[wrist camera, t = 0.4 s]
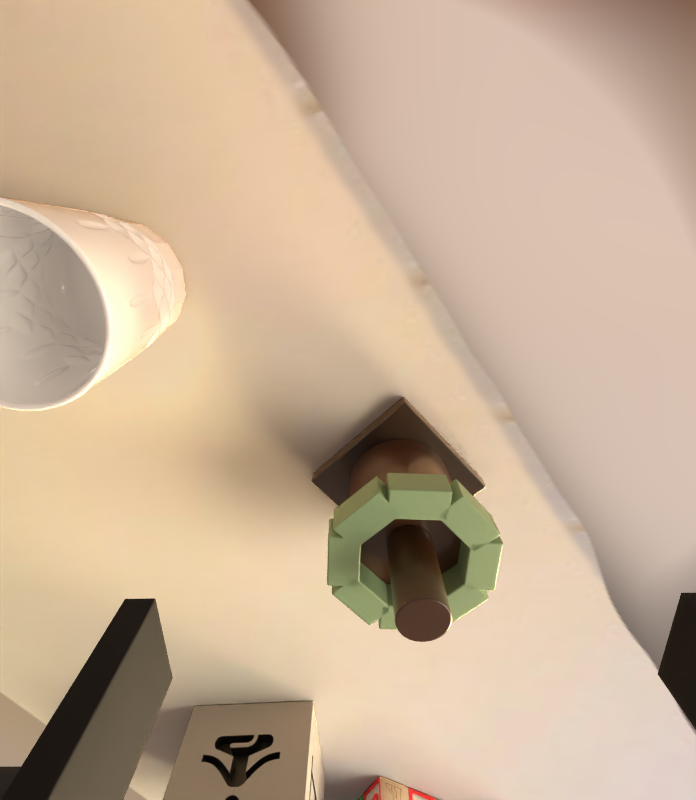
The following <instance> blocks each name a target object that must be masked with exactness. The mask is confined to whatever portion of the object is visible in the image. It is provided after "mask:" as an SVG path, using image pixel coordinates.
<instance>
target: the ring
mask: <svg viewBox="0 0 696 800" xmlns="http://www.w3.org/2000/svg"><path fill="white" fill-rule="evenodd" d="M394 519H415V520H441V521H442V522H443V523H444V524H445V525H446V526H447V527H448V528H449V529H450V530H451V531H452V532H453V533H454V534H455V535H456V536H457V537H459V538H460V539H461V543H460V550H459V557H458V563H457V564H456V565H454V566H453V567H451V568H450V569H449V570H447V571H446V572H444V573H443V574H441V575H442V579H443V583H444V587H445V590H446V594H447V598H448V602H449V606H450V610H451V614H452V622H451V623H453V622H454V621H456V620H457V619H459V618H460V617H462V616H463V615H465V614H466V613H468V612H469V611H471V610H472V609H474V608H475V607H477V606H478V605H480V604H482V603H483V602H485V601H486V600H488V595H487V593H486V590H488V591H494V590H495V585H496V580H497V574H498V569H499V563H500V558H501V552H502V547H503V542H502V540H501V538H500V536H499V535H500V532H499V530H498V528H497V526H496V524H495V522H494V520H493V518H492V516H491V514H490V513H489V512H488V511H487V510H486V509H485V508H484V507H483V506H482V505H481V504H480V503H479V502H478V501H477V500H476V499H475V498H474V497H473V496H472V495H471V494H470V493H469V492H468V491H467V490H466V489H465V488H464V487H463V485H462V484H461V483H460V482H459V481H458V480H456V479H455V480H454V481H452V482H451V483H450V484H449V482H448V479H447V477H446V475H438V474H409V473H387V481H386V485H385V484H384V483H383V482H382V481H381V480H380V479H379V478H378V477H377V476H376V477H375V478H373V479H372V480H371V481H370V482H369V483H367V484H366V485H365V486H364V487H362V488H361V489H360V490H359V491H357V492H356V493H355V494H354V495H352V496H351V497H350V498H349V499H347V500H346V501H345V502H344V503H342V504H341V505H340V506H339V507H337V508H336V509H335V510H334V519H330V521H329V534H328V569H327V584H328V585H332V594H333V595H334V596H335V597H336V598H338V599H339V600H340V601H341V602H342V603H344V604H345V605H346V606H347V607H348V608H350V609H351V610H352V611H353V612H354V613H356V614H357V615H358V616H359V617H360V618H362V619H363V620H364V621H365V622H366V623H367V624H369V625H371V624H372V623H374V622H375V621H377V620H378V619H379V628H380V629H397V627H396V625H395V618H394V609H393V600H392V591H391V584H385V583H384V582H383V581H382V580H381V579H380V578H379V577H377V576H376V575H375V574H374V573H373V572H372V571H371V570H369V569H368V568H367V567H366V566H365V565H364V564H363V563H362V562H360V558H361V545H362V544H363V543H364V542H365V541H367V540H368V539H369V538H371V537H372V536H373V535H375V534H376V533H377V532H379V531H380V530H381V529H383V528H384V527H385V526H386V525H388V524H389V523H390V522H392V521H393V520H394Z"/></svg>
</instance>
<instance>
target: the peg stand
mask: <svg viewBox="0 0 696 800" xmlns="http://www.w3.org/2000/svg"><path fill="white" fill-rule="evenodd" d="M387 473H409V474H438V475H446V477H447V479H448V482H449V484H450V483H451V482H452V481H454V480H455V479H456V480H458V481H459V482H460V483H461V484H462V485H463V487H464V488H465V489H466V490H467V491H468V492H469V493H470V494H471V495H472V496H474V495H476V494H477V493H478V492H480V491H481V490H482V489H484V488H485V487H486V486H485V484H484V482H483V480H482V478H481V477H480V476H479V475H478V474H477V473H476V472H475V471H474V470H473V469H472V468H471V467H470V466H469V465H468V464H467V463H466V462H465V461H464V459H463V458H462V457H461V456H460V455H459V454H458V453H457V452H456V451H455V450H454V449H453V448H452V447H451V446H450V445H449V444H448V443H447V442H446V441H445V439H444V438H443V437H442V436H441V435H440V434H439V433H438V432H437V431H436V430H435V429H434V428H433V427H432V426H431V425H430V424H429V423H428V422H427V420H426V419H425V418H424V417H423V416H422V415H421V414H420V413H419V412H418V411H417V410H416V409H415V408H414V407H413V406H412V405H411V404H410V403H409V402H408V400H407V399H406V398H405V397H403V398H402V399H401V400H399V401H398V402H397V403H396V404H395V405H394V406H392V407H391V408H390V409H389V410H388V411H386V412H385V413H384V414H383V415H382V416H380V417H379V418H378V419H377V420H376V421H375V422H373V423H372V424H371V425H370V426H369V427H367V428H366V429H365V430H364V431H363V432H361V433H360V434H359V435H358V436H357V437H356V438H354V439H353V440H352V441H351V442H350V443H348V444H347V445H346V446H345V447H344V448H342V449H341V450H340V451H339V452H338V453H337V454H335V455H334V456H333V457H332V458H331V459H329V460H328V461H327V462H326V463H325V464H323V465H322V466H321V467H320V468H319V469H318V470H316V471H315V472H314V473H313V475H312V482H313V483H314V484H315V485H316V486H318V487H319V488H320V489H321V490H322V491H323V492H324V493H325V494H326V495H327V496H329V497H330V498H331V499H332V500H333V501H334V502H335V503H336V504H337V505H338V506H340V505H341V504H342V503H344V502H345V501H346V500H347V499H349V498H350V497H351V496H352V495H354V494H355V493H356V492H357V491H359V490H360V489H361V488H362V487H364V486H365V485H366V484H367V483H369V482H370V481H371V480H372V479H373V478H375V477H376V476H377V477H378V478H379V479H380V480H381V481H382V482H383V483H384V484H385V485H386V481H387ZM460 543H461V539H460V538H459V537H457V536H456V535H455V534H454V533H453V532H452V531H451V530H450V529H449V528H448V527H447V526H446V525H445V524H444V523H443V522H442V521H441V520H415V519H394V520H393V521H392V522H390V523H389V524H388V525H386V526H385V527H384V528H383V529H381V530H380V531H379V532H377V533H376V534H375V535H373V536H372V537H371V538H369V539H368V540H367V541H365V542H364V543H363V544H362V545H361V558H360V562H362V563H363V564H364V565H365V566H366V567H367V568H368V569H369V570H371V571H372V572H373V573H374V574H375V575H376V576H377V577H379V578H380V579H381V580H382V581H383V582H384V583H385V584H391V591H392V600H393V609H394V618H395V625H396V627H397V629H398V631H399V632H400V633H401V634H402V635H403V636H404V637H406V638H408V639H410V640H413V641H419V642H426V641H432V640H435V639H437V638H439V637H441V636H442V635H444V634H445V633H446V632H447V631H448V629H449V628H450V625H451V622H452V614H451V610H450V606H449V602H448V598H447V594H446V590H445V587H444V583H443V579H442V575H441V574H443V573H444V572H446V571H447V570H449V569H450V568H451V567H453V566H454V565H456V564H457V563H458V557H459V550H460Z"/></svg>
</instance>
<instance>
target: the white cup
mask: <svg viewBox="0 0 696 800" xmlns="http://www.w3.org/2000/svg"><path fill="white" fill-rule="evenodd" d="M185 298H186V290H185V282H184V274H183V268H182V266H181V265H180V263H179V261H178V260H177V258H176V256H175V254H174V253H173V251H172V249H171V248H170V246H169V244H168V243H167V242H166V241H164V240H163V239H162V238H160V237H159V236H158V235H156V234H155V233H154V232H153V231H151V230H150V229H149V228H147V227H146V226H145V225H142V224H138V223H134V222H130V221H125V220H121V219H117V218H112V217H110V216H108V215H104V214H99V213H93V212H90V211H84V210H79V209H73V208H67V207H60V206H53V205H47V204H40V203H34V202H27V201H21V200H14V199H8V198H2V197H0V407H4V408H8V409H14V410H23V411H37V410H46V409H51V408H55V407H59V406H62V405H64V404H67V403H69V402H71V401H73V400H75V399H76V398H78V397H79V396H81V395H82V394H84V393H85V392H86V391H88V390H89V389H91V388H92V387H93V386H95V385H96V384H98V383H99V382H100V381H102V380H103V379H105V378H106V377H108V376H109V375H110V374H112V373H113V372H115V371H116V370H118V369H119V368H120V367H122V366H123V365H125V364H126V363H128V362H129V361H130V360H131V359H133V358H134V357H135V356H136V355H138V354H139V353H140V352H142V351H143V350H144V349H145V348H147V347H148V346H149V345H151V344H152V343H153V342H154V341H155V340H156V339H157V337H159V336H160V335H161V334H162V333H164V332H165V331H166V330H167V329H168V328H169V327H170V326H171V325H173V324H174V323H175V322H176V321H177V320H178V318H179V315H180V312H181V309H182V307H183V304H184V301H185Z"/></svg>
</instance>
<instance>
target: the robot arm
mask: <svg viewBox="0 0 696 800" xmlns="http://www.w3.org/2000/svg"><path fill="white" fill-rule="evenodd" d="M658 675H659V677H660V678H661V680H662V681H663V682H664V684H665V685H666V687H667V688H668V690H669V691H670V693H671V694H672V696H673V697H674V698H675V700H676V701H677V703H678V704H679V706H680V707H681V709H682V710H683V712H684V713H685V714H686V716H687V717H688V719H689V720H690V722H691V723H692V725H693V726H694V728H695V729H696V593H681V596H680V599H679V603H678V606H677V610H676V613H675V617H674V620H673V623H672V627H671V631H670V634H669V638H668V641H667V644H666V648H665V651H664V655H663V658H662V661H661V665H660V669H659V672H658ZM171 680H172V673H171V669H170V664H169V660H168V655H167V650H166V646H165V641H164V637H163V632H162V627H161V623H160V618H159V614H158V609H157V604H156V600H155V599H125V600H124V602H123V603H122V605H121V607H120V608H119V610H118V612H117V613H116V615H115V616H114V618H113V620H112V621H111V623H110V624H109V626H108V628H107V629H106V631H105V633H104V634H103V636H102V637H101V639H100V641H99V642H98V644H97V645H96V647H95V649H94V650H93V652H92V653H91V655H90V657H89V658H88V660H87V662H86V663H85V665H84V666H83V668H82V670H81V671H80V673H79V674H78V676H77V678H76V679H75V681H74V683H73V684H72V686H71V687H70V689H69V691H68V692H67V694H66V695H65V697H64V699H63V700H62V702H61V704H60V705H59V707H58V708H57V710H56V712H55V713H54V715H53V716H52V718H51V720H50V721H49V723H48V725H47V726H46V728H45V729H44V731H43V733H42V734H41V736H40V737H39V739H38V741H37V742H36V744H35V746H34V747H33V749H32V750H31V752H30V754H29V755H28V757H27V758H26V760H25V762H24V763H23V765H22V766H21V767H0V800H123V799H124V796H125V794H126V791H127V789H128V787H129V784H130V782H131V779H132V777H133V774H134V772H135V769H136V767H137V764H138V762H139V759H140V757H141V754H142V752H143V749H144V747H145V745H146V742H147V740H148V737H149V735H150V732H151V730H152V727H153V725H154V722H155V720H156V717H157V715H158V712H159V710H160V707H161V705H162V703H163V700H164V698H165V695H166V693H167V690H168V688H169V685H170V683H171Z"/></svg>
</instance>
